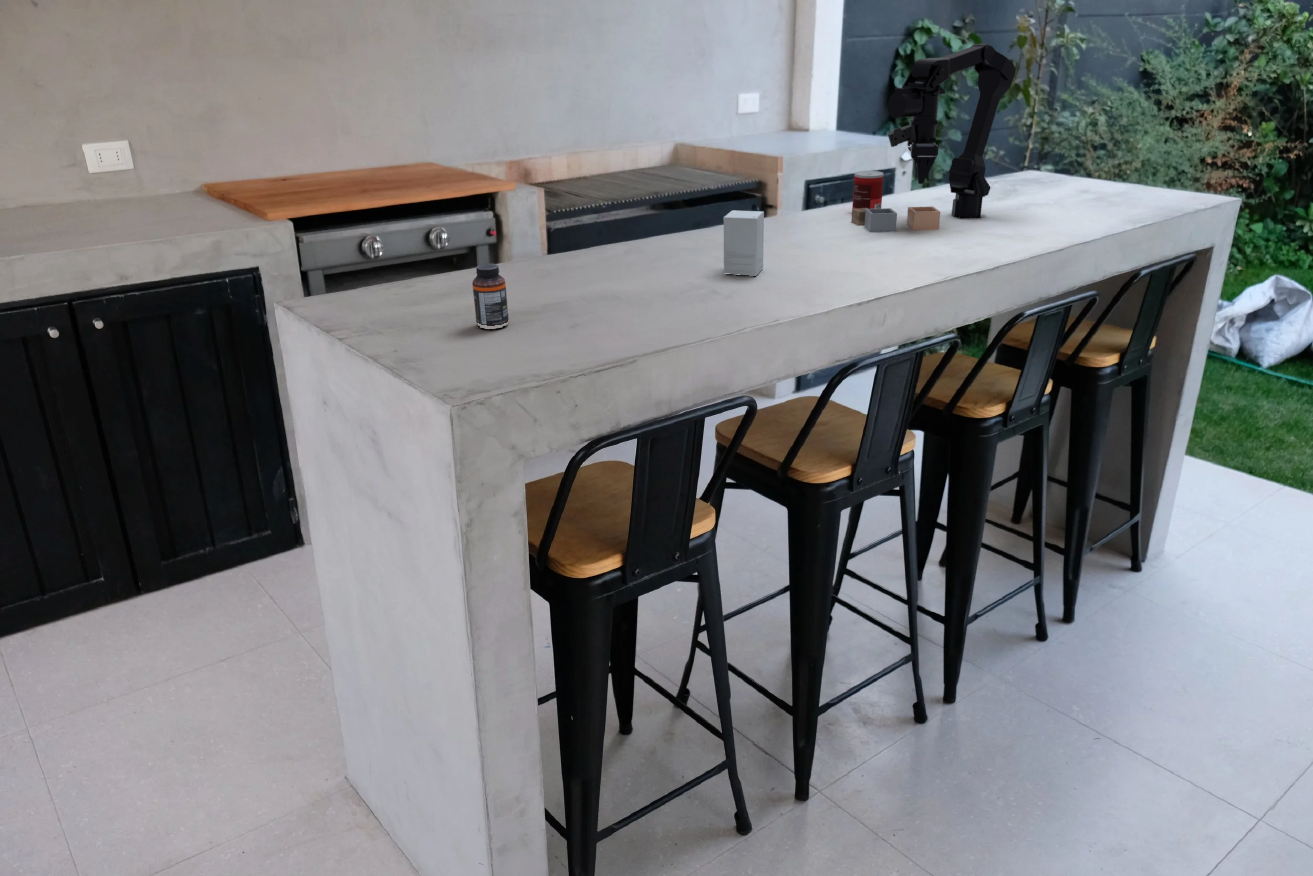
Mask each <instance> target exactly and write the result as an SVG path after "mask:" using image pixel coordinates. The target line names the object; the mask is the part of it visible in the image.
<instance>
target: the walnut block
mask: <svg viewBox="0 0 1313 876" xmlns="http://www.w3.org/2000/svg"><path fill="white" fill-rule="evenodd" d="M866 209H868V208H858V209H852V208H851V220H850V222H851V223H852V224H854V225H856V226H864V224H865V210H866Z"/></svg>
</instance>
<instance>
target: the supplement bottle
mask: <svg viewBox="0 0 1313 876" xmlns="http://www.w3.org/2000/svg"><path fill="white" fill-rule="evenodd" d="M475 268H476V269H475V270H476V272H475V273H476V276H475V277H474V278H473V280H472V291H473V292H472V293H473V294H472V295H473V301H474V312H475V322H476V324H477V323H479V324H481V325H487V326H495V325H502V324H504V323H507V322H508V320H510V319H509V318H510V317H509V309H508V307H509V306H508V300H507V299H508V298H507V286H506V285H507V284H506V280H505V278H504V277H503V276H502V275H500V269H499V265H498V264H495V263H482V264H479V265H477V266H476V267H475Z"/></svg>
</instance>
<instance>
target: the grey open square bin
mask: <svg viewBox="0 0 1313 876" xmlns="http://www.w3.org/2000/svg"><path fill="white" fill-rule="evenodd" d="M897 219H898V213H897V212H896V211H894V209H892V208H891V207H889V208H887V207H886V208H884V207H883V208H881V209H866V210H865V224H864V225H863V226H864V228H865V229H866V230H867V231H869V233H889V232H890V233H891V232H894V233H895V232H896V231H897V221H898V220H897Z"/></svg>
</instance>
